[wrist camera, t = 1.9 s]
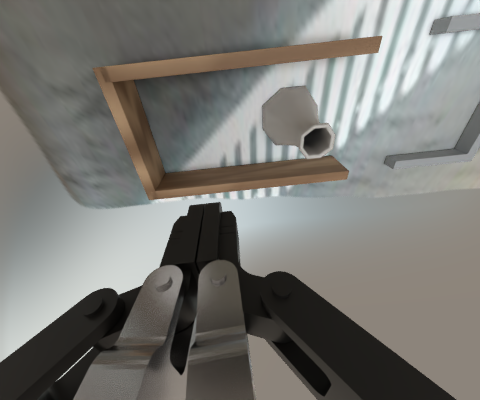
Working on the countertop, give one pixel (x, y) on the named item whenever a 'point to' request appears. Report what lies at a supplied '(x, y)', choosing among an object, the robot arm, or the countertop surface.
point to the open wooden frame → (224, 178)
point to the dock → (476, 131)
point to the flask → (297, 122)
